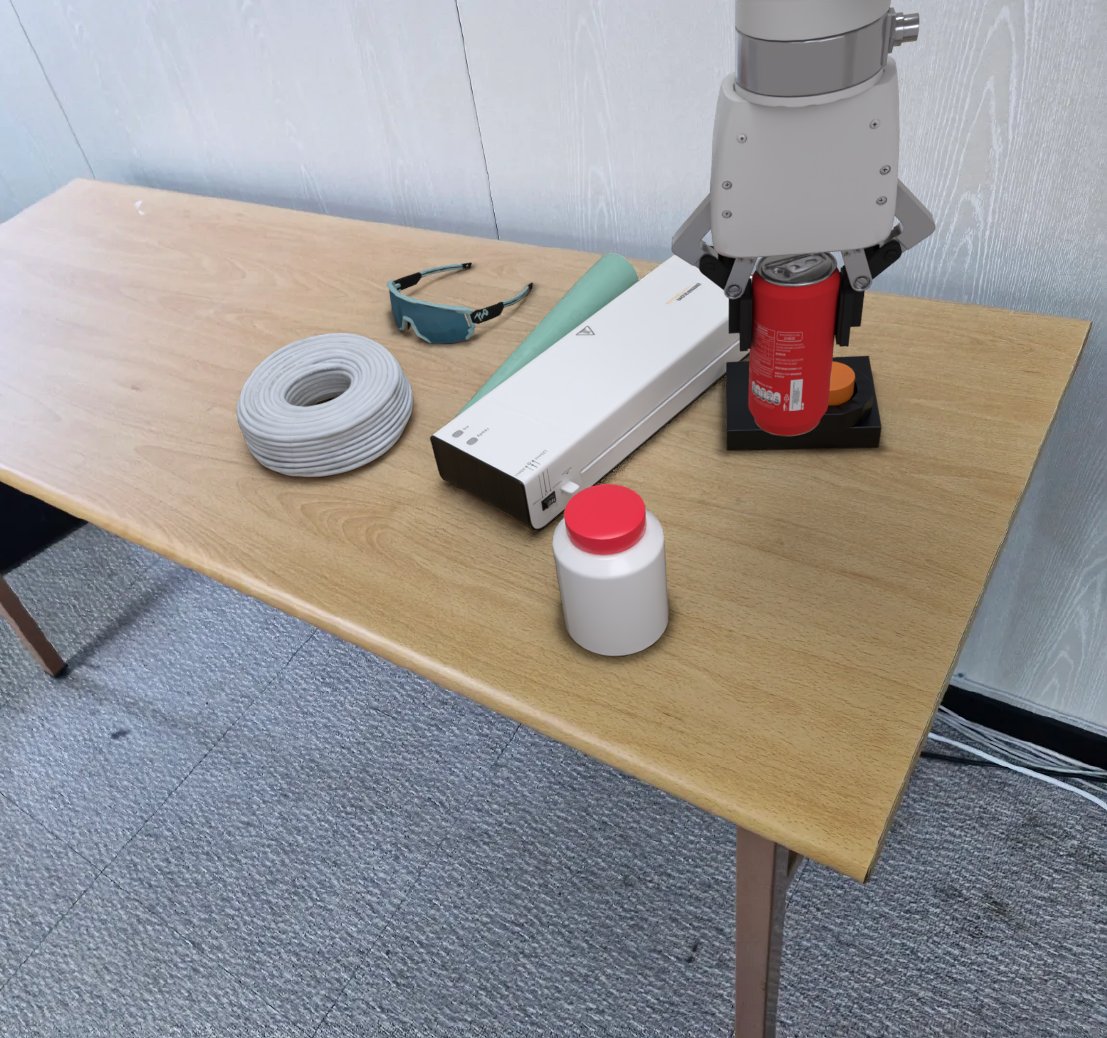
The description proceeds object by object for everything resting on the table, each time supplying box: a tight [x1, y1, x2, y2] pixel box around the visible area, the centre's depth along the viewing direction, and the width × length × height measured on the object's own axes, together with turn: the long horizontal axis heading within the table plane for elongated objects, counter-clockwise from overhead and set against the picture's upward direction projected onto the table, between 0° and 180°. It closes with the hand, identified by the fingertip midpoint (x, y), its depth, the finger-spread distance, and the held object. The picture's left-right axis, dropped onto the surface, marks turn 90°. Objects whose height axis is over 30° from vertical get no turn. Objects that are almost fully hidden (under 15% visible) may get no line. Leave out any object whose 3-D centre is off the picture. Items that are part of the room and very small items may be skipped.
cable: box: [236, 332, 414, 478], centre depth 97 cm, size 18×18×6 cm
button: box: [828, 362, 855, 406], centre depth 81 cm, size 4×4×2 cm
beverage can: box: [748, 252, 840, 436], centre depth 65 cm, size 5×5×12 cm
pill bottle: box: [551, 483, 670, 657], centre depth 70 cm, size 8×8×11 cm
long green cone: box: [454, 252, 640, 418], centre depth 97 cm, size 5×6×27 cm
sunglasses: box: [386, 261, 534, 344], centre depth 110 cm, size 14×15×5 cm
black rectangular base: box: [725, 355, 882, 451], centre depth 84 cm, size 12×10×4 cm
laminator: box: [429, 253, 753, 532], centre depth 89 cm, size 34×12×6 cm, turn 132°
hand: (792, 334), depth 64 cm, fingers closed on beverage can, 5 cm apart
